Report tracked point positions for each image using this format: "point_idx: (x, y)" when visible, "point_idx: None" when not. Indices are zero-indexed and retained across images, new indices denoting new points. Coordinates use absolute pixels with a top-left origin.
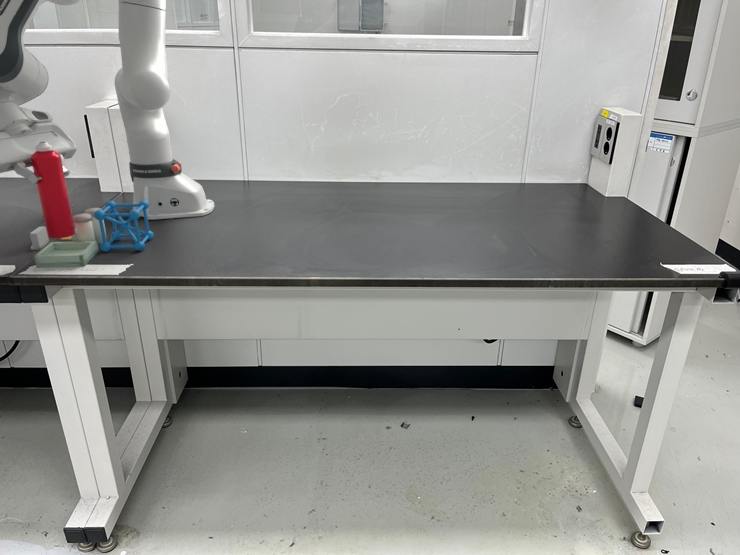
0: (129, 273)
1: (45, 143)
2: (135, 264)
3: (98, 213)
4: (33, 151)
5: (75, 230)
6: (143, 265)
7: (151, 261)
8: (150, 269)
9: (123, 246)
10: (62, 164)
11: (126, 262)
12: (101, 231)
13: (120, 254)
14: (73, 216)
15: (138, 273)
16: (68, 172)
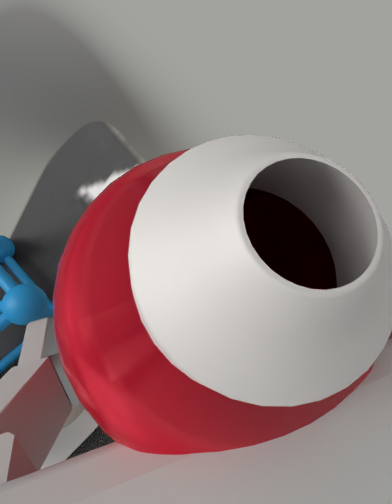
0: (118, 155)
1: (274, 151)
2: (78, 185)
3: (34, 287)
4: (357, 432)
5: (76, 436)
6: (71, 167)
7: (43, 172)
8: (77, 140)
9: (29, 277)
10: (35, 369)
11: (82, 210)
12: (50, 309)
13: (55, 268)
14: (78, 411)
15: (106, 142)
16: (44, 320)
